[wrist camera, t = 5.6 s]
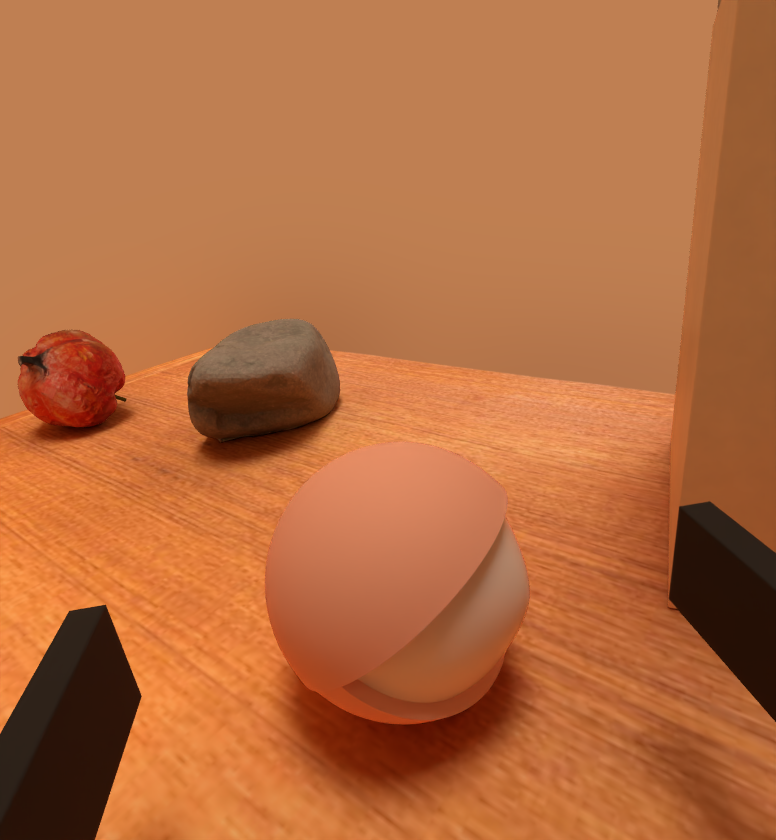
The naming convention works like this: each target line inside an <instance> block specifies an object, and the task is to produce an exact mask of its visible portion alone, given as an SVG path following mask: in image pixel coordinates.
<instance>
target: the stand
mask: <svg viewBox="0 0 776 840" xmlns="http://www.w3.org/2000/svg"><path fill="white" fill-rule="evenodd" d="M708 501H710V502H712V503H713V504H714V505H715V506H717V507H718V508H719V509H720V510H722V511H723V512H724V513H726V514H727V515H728V516H729V517H731V518H732V519H733V520H734V521H736V522H737V523H738V524H740V525H741V526H742V527H743V528H745V529H746V530H747V531H748V532H750V533H751V534H752V535H753V536H755V537H756V538H757V539H759V540H760V541H761V542H762V543H764V544H765V545H766V546H767V547H769V548H770V549H771V550H773V551H774V552H775V553H776V0H721V3H720V6H719V9H718V12H717V15H716V19H715V22H714V25H713V31H712V40H711V51H710V60H709V70H708V80H707V89H706V100H705V109H704V120H703V129H702V138H701V148H700V158H699V168H698V178H697V188H696V198H695V207H694V217H693V227H692V237H691V247H690V256H689V266H688V277H687V286H686V297H685V305H684V315H683V325H682V335H681V345H680V355H679V364H678V374H677V385H676V394H675V404H674V414H673V423H672V433H671V443H670V500H669V563H668V607H669V608H674V609H677V608H676V607H675V606H674V605H673V603H672V602H671V601H670V600H669V591H670V582H671V574H672V565H673V556H674V547H675V538H676V530H677V521H678V512H679V506H685V505H691V504H697V503H702V502H708Z"/></svg>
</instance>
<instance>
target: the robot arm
mask: <svg viewBox="0 0 776 840" xmlns="http://www.w3.org/2000/svg"><path fill="white" fill-rule="evenodd" d="M669 600H670V601H671V602H672V603H673V605H674V606H675V607H676V608H677V609H678V610H679V611H680V613H681V614H682V615H683V616H684V617H685V618H686V619H687V621H688V622H689V623H690V624H691V625H692V626H693V627H694V629H695V630H696V631H697V632H698V633H699V634H700V636H701V637H702V638H703V639H704V640H705V641H706V642H707V644H708V645H709V646H710V647H711V648H712V649H713V650H714V652H715V653H716V654H717V655H718V656H719V657H720V658H721V660H722V661H723V662H724V663H725V664H726V665H727V666H728V668H729V669H730V670H731V671H732V672H733V673H734V675H735V676H736V677H737V678H738V679H739V680H740V681H741V683H742V684H743V685H744V686H745V687H746V688H747V689H748V691H749V692H750V693H751V694H752V695H753V696H754V697H755V699H756V700H757V701H758V702H759V703H760V704H761V706H762V707H763V708H764V709H765V710H766V711H767V712H768V714H769V715H770V716H771V717H772V718H773V719H774V720H775V722H776V553H775V552H774V551H773V550H771V549H770V548H769V547H767V546H766V545H765V544H764V543H762V542H761V541H760V540H759V539H757V538H756V537H755V536H753V535H752V534H751V533H750V532H748V531H747V530H746V529H745V528H743V527H742V526H741V525H740V524H738V523H737V522H736V521H734V520H733V519H732V518H731V517H729V516H728V515H727V514H726V513H724V512H723V511H722V510H720V509H719V508H718V507H717V506H715V505H714V504H713V503H712V502H710V501H708V502H702V503H697V504H691V505H685V506H679V512H678V521H677V530H676V538H675V547H674V556H673V565H672V574H671V582H670V591H669ZM141 697H142V696H141V693H140V691H139V688H138V686H137V683H136V681H135V678H134V676H133V673H132V670H131V668H130V665H129V663H128V660H127V658H126V655H125V653H124V650H123V648H122V645H121V642H120V640H119V637H118V635H117V632H116V630H115V627H114V625H113V622H112V620H111V617H110V615H109V612H108V609H107V607H106V605H102V606H96V607H90V608H84V609H79V610H73V611H69V613H68V614H67V616H66V618H65V620H64V621H63V623H62V625H61V627H60V629H59V630H58V632H57V634H56V636H55V637H54V639H53V641H52V643H51V645H50V646H49V648H48V650H47V652H46V653H45V655H44V657H43V659H42V661H41V662H40V664H39V666H38V668H37V669H36V671H35V673H34V675H33V677H32V678H31V680H30V682H29V684H28V685H27V687H26V689H25V691H24V693H23V694H22V696H21V698H20V700H19V701H18V703H17V705H16V707H15V709H14V710H13V712H12V714H11V716H10V717H9V719H8V721H7V723H6V725H5V726H4V728H3V730H2V732H1V733H0V840H95V837H96V834H97V831H98V828H99V825H100V822H101V819H102V816H103V813H104V810H105V807H106V804H107V801H108V797H109V794H110V791H111V788H112V785H113V782H114V779H115V776H116V773H117V770H118V767H119V764H120V761H121V758H122V755H123V752H124V749H125V745H126V742H127V739H128V736H129V733H130V730H131V727H132V724H133V721H134V718H135V715H136V712H137V709H138V706H139V703H140V700H141Z"/></svg>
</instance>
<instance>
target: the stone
mask: <svg viewBox="0 0 776 840" xmlns="http://www.w3.org/2000/svg"><path fill="white" fill-rule="evenodd" d="M339 393H340V380H339V375H338V371H337V368H336V365H335V362H334V359H333V357H332V354H331V352H330V350H329V348H328V346H327V344H326V342H325V340H324V339H323V337H322V336H321V334H320V333H319V332H318V330H317V329H316V328H315V327H314V326H313V325H312V324H310V323H308V322H306V321H303V320H299V319H283V320H275V321H269V322H265V323H260V324H255V325H251V326H248V327H245V328H243V329H240V330H238V331H236V332H234V333H232V334H230V335H229V336H228V337H226V338H225V339H223V340H222V341H221V342H220V343H219V344H218V345H216V346H215V347H214V348H213V349H211V350H210V351H209V352H207V353H206V354H205V355H203V356H202V357H201V358H200V359H199V360H198V361H197V362H196V363H195V364H194V365H193V367H192V368H191V371H190V374H189V376H188V392H187V396H188V408H189V415H190V418H191V422H192V424H193V425H194V427H195V428H196V429H197V430H198V432H199V433H200V434H202V435H204V436H207V437H211V438H216V439H218V440H219V441H220V442H223V441H226V440H231V439H237V438H239V437H242V436H256V435H263V434H267V433H269V432H272V433H274V432H276V431H280V430H281V431H283V430H290V429H293V428H296V427H299V426H302V425H306V424H307V423H309V422H312V421H315V420H318V419H320V418H323V417H324V416H326V415H327V414H328V413H329V412H331V410H332V409H333V407H334V405H335V403H336V401H337V400H338V398H339Z"/></svg>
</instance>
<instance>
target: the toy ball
mask: <svg viewBox="0 0 776 840" xmlns="http://www.w3.org/2000/svg"><path fill="white" fill-rule="evenodd" d="M507 504H508V498H507V493H506V491H505V489H504V488H503V487H502V486H501V485H500V484H499V483H498V482H497V481H496V480H495V479H493V478H492V477H491V476H490V475H489V474H488V473H486V472H485V471H484V470H483V469H481V468H480V467H478V466H477V465H475V464H474V463H472V462H471V461H469V460H467V459H465V458H464V457H462V456H460V455H458V454H455V453H453V452H451V451H448V450H445V449H442V448H439V447H436V446H432V445H427V444H422V443H414V442H388V443H380V444H374V445H370V446H366V447H363V448H359V449H357V450H354V451H351V452H349V453H347V454H344V455H342V456H340V457H338V458H336V459H335V460H333V461H331V462H330V463H328V464H327V465H325V466H324V467H322V468H321V469H320V470H318V471H317V472H316V473H315V474H313V475H312V476H311V477H310V478H309V479H308V480H307V481H306V482H305V483H304V484H303V485H302V486H301V487H300V489H299V490H298V491H297V492H296V493H295V495H294V496H293V497H292V499H291V500H290V502H289V503H288V505H287V507H286V508H285V510H284V512H283V514H282V515H281V517H280V519H279V522H278V524H277V526H276V529H275V531H274V534H273V537H272V540H271V543H270V547H269V551H268V556H267V562H266V572H265V594H266V603H267V610H268V615H269V619H270V623H271V626H272V629H273V632H274V635H275V638H276V640H277V643H278V645H279V647H280V649H281V651H282V653H283V655H284V657H285V658H286V660H287V662H288V663H289V665H290V666H291V668H292V669H293V670H294V672H295V673H296V675H297V676H298V677H299V679H300V680H301V681H302V682H303V684H304V685H305V686H306V687H307V688H308V689H309V690H312V691H316V692H318V693H319V694H320V695H321V696H323V697H324V698H325V699H327V700H328V701H330V702H331V703H333V704H334V705H336V706H337V707H339V708H341V709H343V710H345V711H347V712H349V713H351V714H354V715H356V716H359V717H362V718H365V719H368V720H372V721H376V722H382V723H388V724H418V723H425V722H430V721H435V720H439V719H443V718H446V717H449V716H452V715H455V714H458V713H460V712H462V711H464V710H466V709H468V708H469V707H471V706H472V705H474V704H475V703H476V702H477V701H479V700H480V699H481V698H482V697H483V696H484V695H485V694H486V692H487V691H488V690H489V689H490V687H491V686H492V684H493V683H494V681H495V680H496V678H497V676H498V674H499V672H500V669H501V667H502V664H503V661H504V657H505V653H506V650H507V649H508V647H509V646H510V644H511V643H512V641H513V639H514V638H515V636H516V634H517V633H518V631H519V629H520V627H521V625H522V623H523V620H524V618H525V615H526V612H527V609H528V605H529V599H530V586H529V578H528V572H527V568H526V564H525V561H524V558H523V555H522V552H521V549H520V546H519V544H518V541H517V539H516V536H515V534H514V532H513V530H512V528H511V526H510V524H509V522H508V520H507V518H506V517H505V514H506V510H507Z"/></svg>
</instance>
